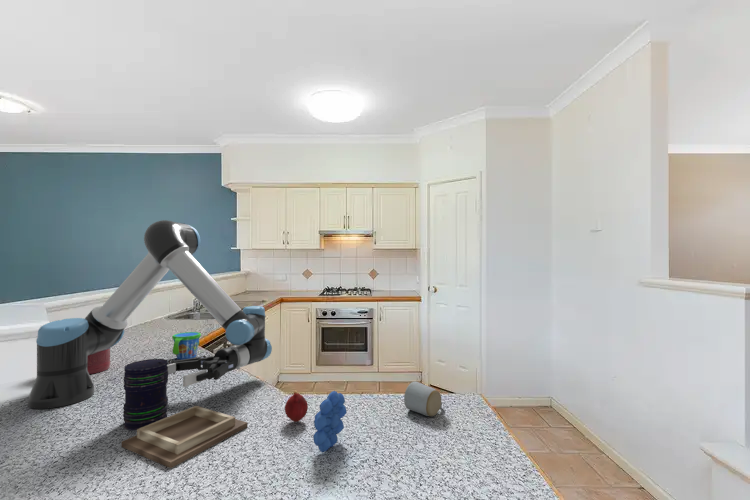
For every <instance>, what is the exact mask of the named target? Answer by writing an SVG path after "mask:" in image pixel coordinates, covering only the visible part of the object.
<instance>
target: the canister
mask: <svg viewBox="0 0 750 500" xmlns="http://www.w3.org/2000/svg"><path fill="white" fill-rule="evenodd" d="M111 362H112V361H111V347H110V348H109V349H106V350H103V351H99V352H97V353H94V354H91V355H89V356H87V370H88V372H89V375H94V374H98V373H101V372H105V371H107V370H109V369H110V367H111Z"/></svg>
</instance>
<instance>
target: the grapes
mask: <svg viewBox="0 0 750 500" xmlns="http://www.w3.org/2000/svg"><path fill="white" fill-rule="evenodd" d="M345 402H346V400H345V396H344V394H343V393H341V392H339V393H338V392H337V391H335V390H333V391H330V392H329V394H328V395H327V396H326V399H323V401H321V402H320V404H319V411H318V412H317V413H315V415H314V420H313V426H314V428H315V430H316V431H315V432H314V434H313V435H312V436H313V437H312V438H313V439H312V440H313V443H314V445H315V446H317V447H318V450H319V452H321V453H326V452H327V451H328V450H329V449H330V448H333V447H334V446H335V445H336V444H337V442H338V441H339V439H338V434H340V433H341V432H342V431H343V430H344V429H345V426H344V421H343V420H342V419H343V418H344V417H345V416H346V414H347V412H348V411H347V407H346V406H345Z"/></svg>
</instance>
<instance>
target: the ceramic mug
mask: <svg viewBox="0 0 750 500" xmlns="http://www.w3.org/2000/svg"><path fill="white" fill-rule="evenodd" d="M403 403H404V406H405V408H406V409H407V410H410V411H411V412H412V411H413V412H415V413H418V414H420V415H423V416H426V417H434V416H436V415H437V414H438V412H439V411H440V409H441V408H442V407H443V402H442V395H441V393H440V391H439V390H437V389H435V388H434V387H431V386H428V385H426V384H423V383H421V382H418V381H412V382H410V383H409V384H408V385H407V387H406V389H405V392H404V398H403Z"/></svg>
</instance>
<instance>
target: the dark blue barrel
mask: <svg viewBox="0 0 750 500" xmlns="http://www.w3.org/2000/svg"><path fill="white" fill-rule="evenodd" d="M167 365H169V360H167V359H164V358H150V359H142V360H138V361H137V360H136V361H135V362H134V361H133V362H130V363H128V364H126V365H124V367H123V368H124V376H123V390H124V394H125V395H124V404H123V408H122V409H123V411H122V417H123V421H124V422H123V428H124V430H128V431H137V429H139V428H141V427H144V426H146V425H149V424H151V423H154V422H156V421H159V420H161V419H164V418H166V417H168V414H167V413H168V409H169V403H168V402H169V397H168V393H167V389H168V388H167V386H168V385H167V384H168V383H169V375H168V366H167Z"/></svg>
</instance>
